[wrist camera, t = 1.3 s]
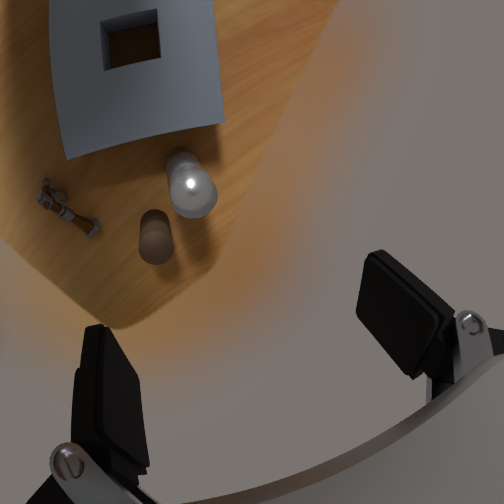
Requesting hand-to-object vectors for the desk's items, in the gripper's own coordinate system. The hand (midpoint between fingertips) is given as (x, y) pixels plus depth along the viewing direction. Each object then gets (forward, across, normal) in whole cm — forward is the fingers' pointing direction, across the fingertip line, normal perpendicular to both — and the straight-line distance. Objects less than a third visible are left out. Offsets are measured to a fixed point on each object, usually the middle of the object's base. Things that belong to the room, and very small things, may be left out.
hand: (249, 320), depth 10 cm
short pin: (+23, +4, +6) cm, 24 cm away
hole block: (+23, +3, -14) cm, 27 cm away
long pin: (+23, 0, 0) cm, 23 cm away
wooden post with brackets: (+23, +13, +1) cm, 27 cm away
